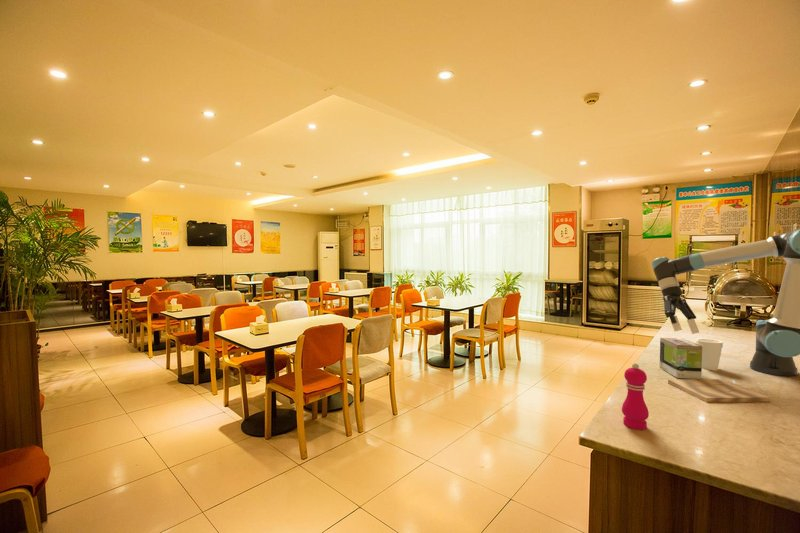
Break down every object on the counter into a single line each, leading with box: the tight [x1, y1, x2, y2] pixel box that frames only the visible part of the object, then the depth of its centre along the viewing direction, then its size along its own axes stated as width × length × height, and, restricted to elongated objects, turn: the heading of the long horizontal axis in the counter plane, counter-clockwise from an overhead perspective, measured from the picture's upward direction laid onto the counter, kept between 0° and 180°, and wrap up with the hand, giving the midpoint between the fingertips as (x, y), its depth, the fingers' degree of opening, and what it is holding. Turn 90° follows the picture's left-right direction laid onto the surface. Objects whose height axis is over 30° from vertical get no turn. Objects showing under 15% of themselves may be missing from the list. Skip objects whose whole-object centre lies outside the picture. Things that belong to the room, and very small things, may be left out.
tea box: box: [659, 337, 703, 380], centre depth 162 cm, size 15×10×15 cm
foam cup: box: [695, 337, 724, 371], centre depth 169 cm, size 10×9×13 cm
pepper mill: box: [621, 362, 650, 431], centre depth 115 cm, size 7×7×20 cm
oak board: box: [667, 378, 771, 403], centre depth 141 cm, size 23×19×2 cm
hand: (687, 332), depth 163 cm, fingers open, 13 cm apart
